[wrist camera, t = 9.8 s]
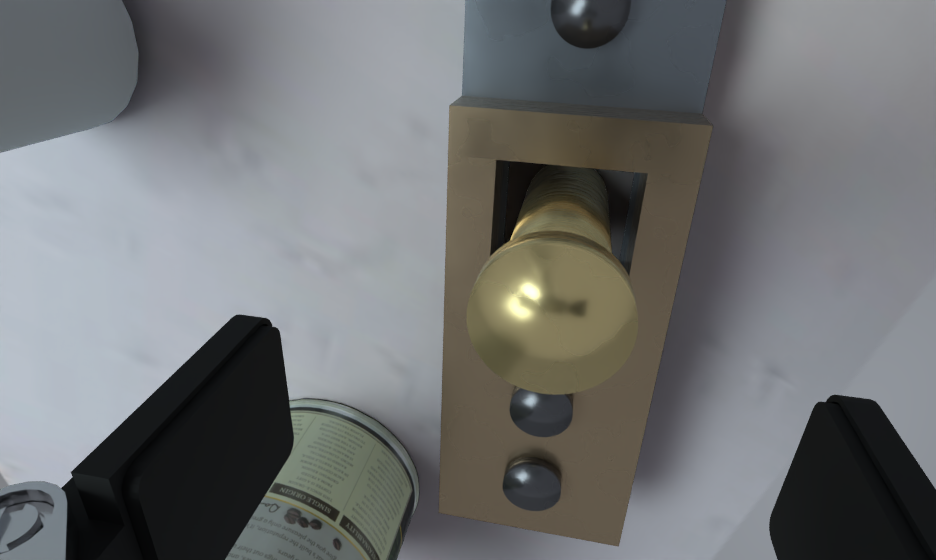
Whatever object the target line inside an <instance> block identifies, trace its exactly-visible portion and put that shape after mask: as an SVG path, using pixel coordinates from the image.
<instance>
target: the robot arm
mask: <svg viewBox="0 0 936 560" xmlns="http://www.w3.org/2000/svg"><path fill="white" fill-rule="evenodd" d="M293 443H294V433H293V426H292V419H291V411H290V404H289V396H288V389H287V381H286V374H285V366H284V359H283V351H282V344H281V337H280V332H279V330H278V328H276V327H272V323H271V322H270V320H269V319H267V318H261V317H254V316H246V315H235V316H234V317H232V318H231V319H230V320H229V321H228V322H227V323H226V324H225V325H224V326H223V327H222V328H221V329H220V330H219V331H218V332H217V333H216V334H215V335H214V336H213V337H212V338H210V339H209V340H208V341H207V342H206V343H205V344H204V345H203V346H202V347H201V348H200V349H199V350H198V351H197V352H196V353H195V354H194V355H193V356H192V357H191V358H190V359H189V360H188V361H186V362H185V363H184V364H183V365H182V366H181V367H180V368H179V369H178V370H177V371H176V372H175V373H174V374H173V375H172V376H171V377H170V378H169V379H168V380H167V381H166V382H165V383H164V384H162V385H161V386H160V387H159V388H158V389H157V390H156V391H155V392H154V393H153V394H152V395H151V396H150V397H149V398H148V399H147V400H146V401H145V402H144V403H143V404H142V405H141V406H140V407H138V408H137V409H136V410H135V411H134V412H133V413H132V414H131V415H130V416H129V417H128V418H127V419H126V420H125V421H124V422H123V423H122V424H121V425H120V426H119V427H118V428H117V429H116V430H114V431H113V432H112V433H111V434H110V435H109V436H108V437H107V438H106V439H105V440H104V441H103V442H102V443H101V444H100V445H99V446H98V447H97V448H96V449H95V450H94V451H93V452H92V453H90V454H89V455H88V456H87V457H86V458H85V459H84V460H83V461H82V462H81V463H80V464H79V465H78V466H77V467H76V468H75V469H74V470H73V471H72V472H71V474H72V476H73V477H72V478H71V479H70V480H69V481H68V482H67V483H66V484H65V485H64V486H63V487H62V488H60V487H59V486H57V485H55V484H52V483H48V482H45V481H31V482H24V483H19V484H14V485H10V486H7V487H5V488H2V489H0V560H225V559H226V557H227V556H228V554H229V552H230V551H231V549H232V548H233V546H234V544H235V543H236V541H237V540H238V538H239V536H240V535H241V533H242V532H243V530H244V528H245V527H246V525H247V524H248V522H249V520H250V519H251V517H252V516H253V514H254V512H255V511H256V509H257V508H258V506H259V504H260V503H261V501H262V500H263V498H264V496H265V495H266V493H267V492H268V490H269V488H270V487H271V485H272V484H273V482H274V480H275V479H276V477H277V475H278V474H279V472H280V471H281V469H282V467H283V466H284V464H285V463H286V461H287V459H288V458H289V456H290V454H291V451H292V448H293ZM769 525H770V527H769V528H770V536H771V540H772V544H773V547H774V550H775V553H776V556H777V559H778V560H936V489H935V488H934V486H933V485H932V483H931V482H930V480H929V479H928V477H927V476H926V475H925V473H924V472H923V470H922V469H921V467H920V465H919V464H918V462H917V461H916V460H915V458H914V457H913V455H912V454H911V452H910V451H909V449H908V448H907V446H906V445H905V443H904V442H903V440H902V439H901V438H900V436H899V434H898V433H897V431H896V430H895V429H894V427H893V425H892V424H891V422H890V421H889V419H888V418H887V416H886V415H885V414H884V412H883V411H882V409H881V408H880V406H879V405H878V404H877V403H876V402H875V401H873V400H871V399H863V398H856V397H848V396H841V395H832V396H830V397H829V398H828V399H827V401H826V402H818V403H817V404H816V405H815V406H814V408H813V411H812V413H811V416H810V418H809V421H808V423H807V426H806V428H805V431H804V433H803V436H802V438H801V441H800V443H799V446H798V448H797V451H796V453H795V456H794V458H793V461H792V463H791V466H790V469H789V471H788V474H787V476H786V478H785V481H784V483H783V486H782V489H781V491H780V493H779V496H778V499H777V501H776V504H775V506H774V509H773V511H772V514H771V517H770V524H769Z"/></svg>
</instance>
